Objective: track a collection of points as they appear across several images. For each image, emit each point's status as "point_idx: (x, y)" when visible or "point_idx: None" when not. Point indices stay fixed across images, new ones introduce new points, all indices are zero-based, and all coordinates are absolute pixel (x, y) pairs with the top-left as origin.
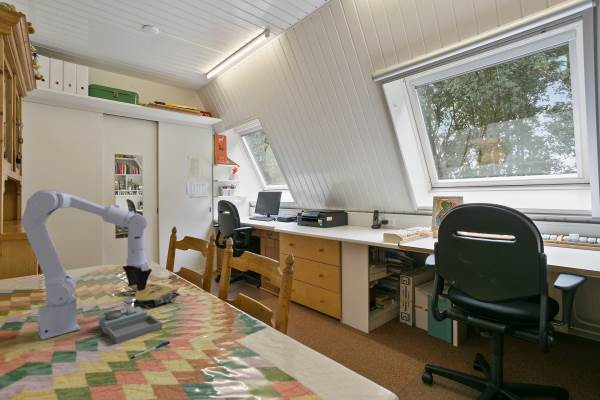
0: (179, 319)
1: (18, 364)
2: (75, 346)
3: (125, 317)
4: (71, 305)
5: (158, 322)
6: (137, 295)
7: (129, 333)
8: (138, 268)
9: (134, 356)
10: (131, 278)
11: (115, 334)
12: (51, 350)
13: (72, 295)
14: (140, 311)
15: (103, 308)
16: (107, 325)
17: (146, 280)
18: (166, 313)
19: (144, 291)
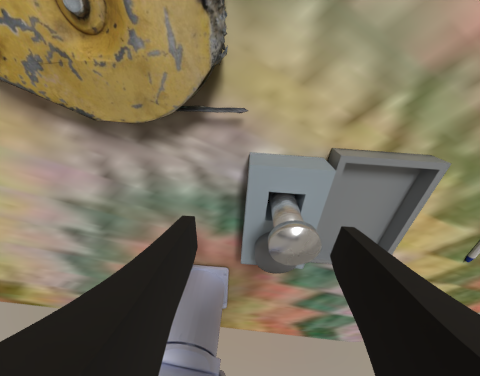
0: (447, 60)
1: (289, 328)
2: (303, 288)
3: None
4: (211, 343)
5: (432, 168)
6: (83, 103)
7: (395, 244)
8: (104, 360)
9: (474, 258)
10: (177, 286)
11: None
12: (282, 305)
13: (170, 361)
14: (306, 182)
15: (102, 197)
16: None
17: (426, 288)
18: (330, 65)
19: (51, 54)
